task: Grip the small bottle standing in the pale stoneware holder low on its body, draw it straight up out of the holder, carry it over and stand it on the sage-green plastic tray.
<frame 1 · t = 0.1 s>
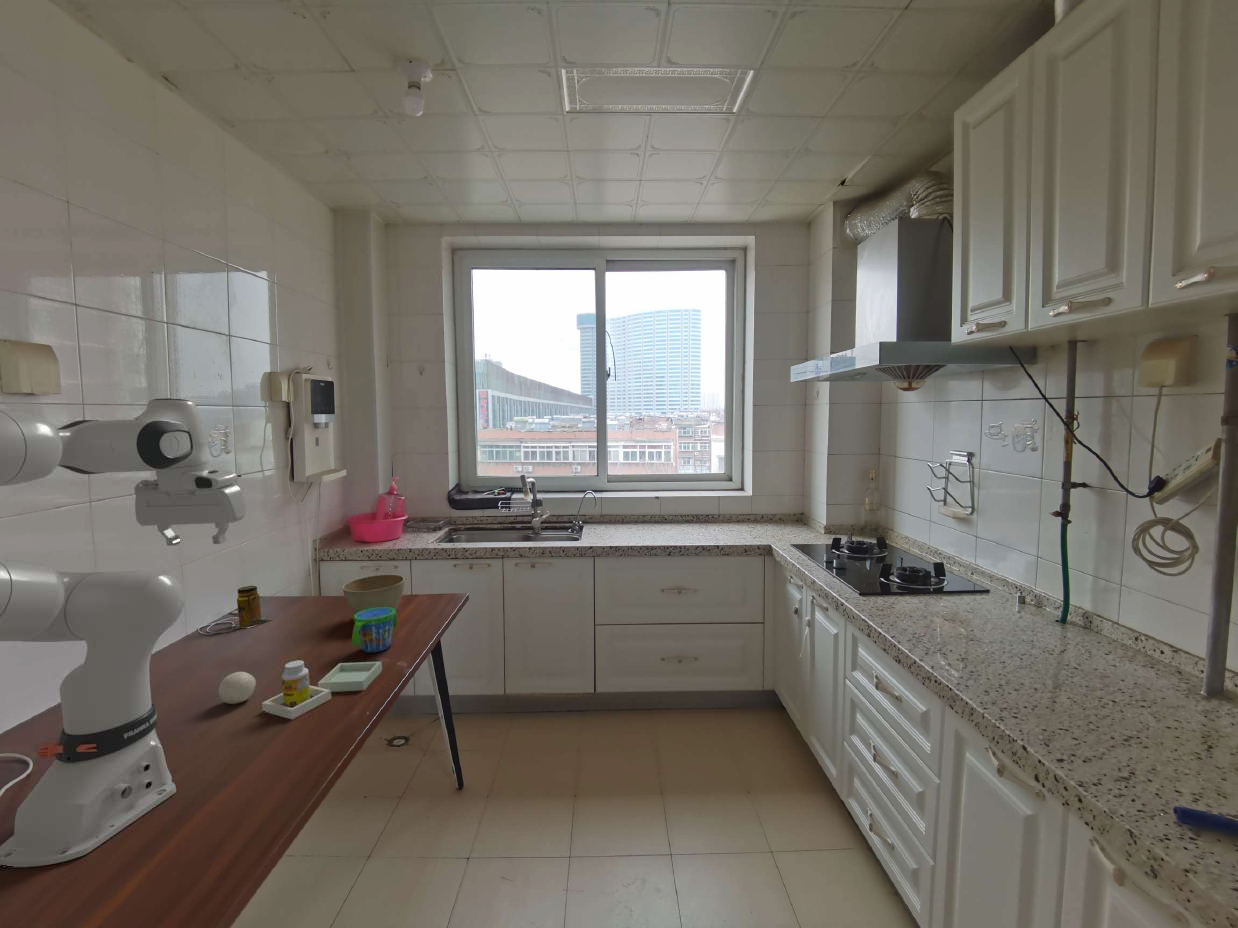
hand: (196, 543, 117), 39 cm above the table, tool pointing down, fingers open, 8 cm apart
flower pot: (376, 619, 181), on the table
tray: (351, 680, 138), on the table
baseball: (239, 701, 129), on the table
snack cup: (377, 648, 157), on the table
holder: (297, 704, 127), on the table
supplement bottle: (297, 705, 127), resting in holder
condiment: (253, 623, 182), on the table
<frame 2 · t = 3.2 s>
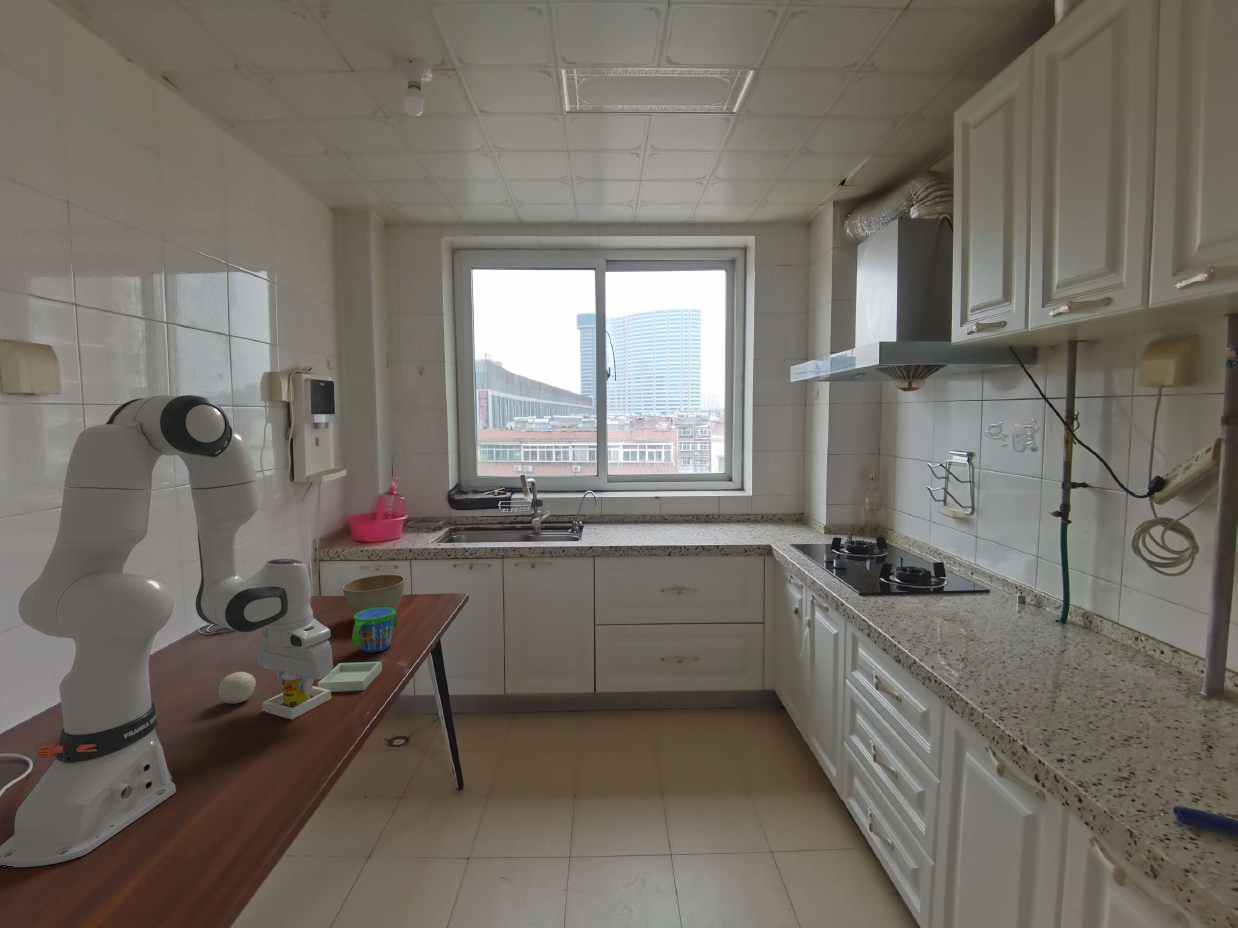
hand: (296, 690, 126), 3 cm above the table, tool pointing down, fingers closed on supplement bottle, 5 cm apart
supplement bottle: (297, 705, 127), resting in holder, touching gripper
everything else where it was.
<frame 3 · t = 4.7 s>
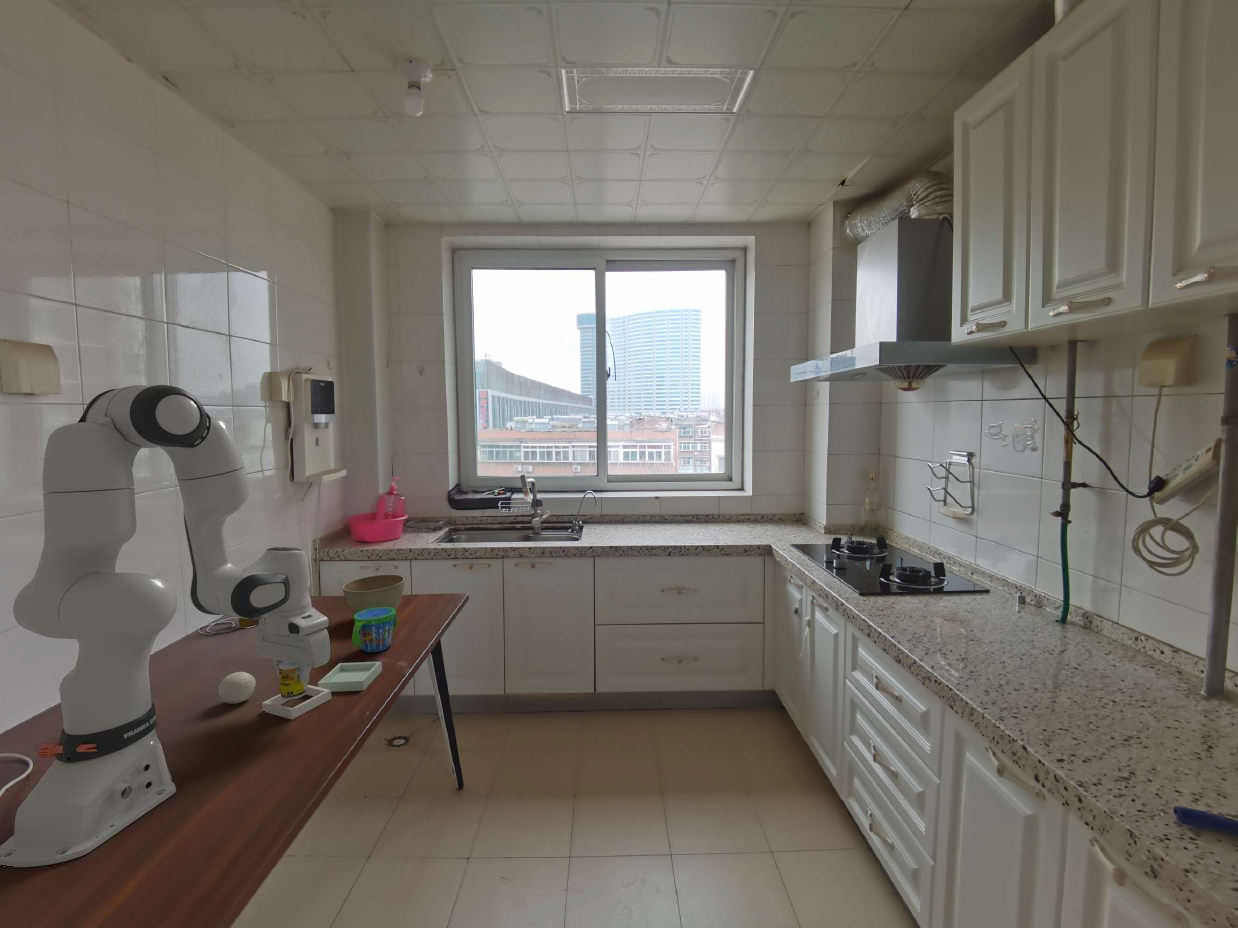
hand: (293, 679, 125), 6 cm above the table, tool pointing down, fingers closed on supplement bottle, 5 cm apart
supplement bottle: (294, 696, 126), point 2 cm above the table, touching gripper
everything else where it was.
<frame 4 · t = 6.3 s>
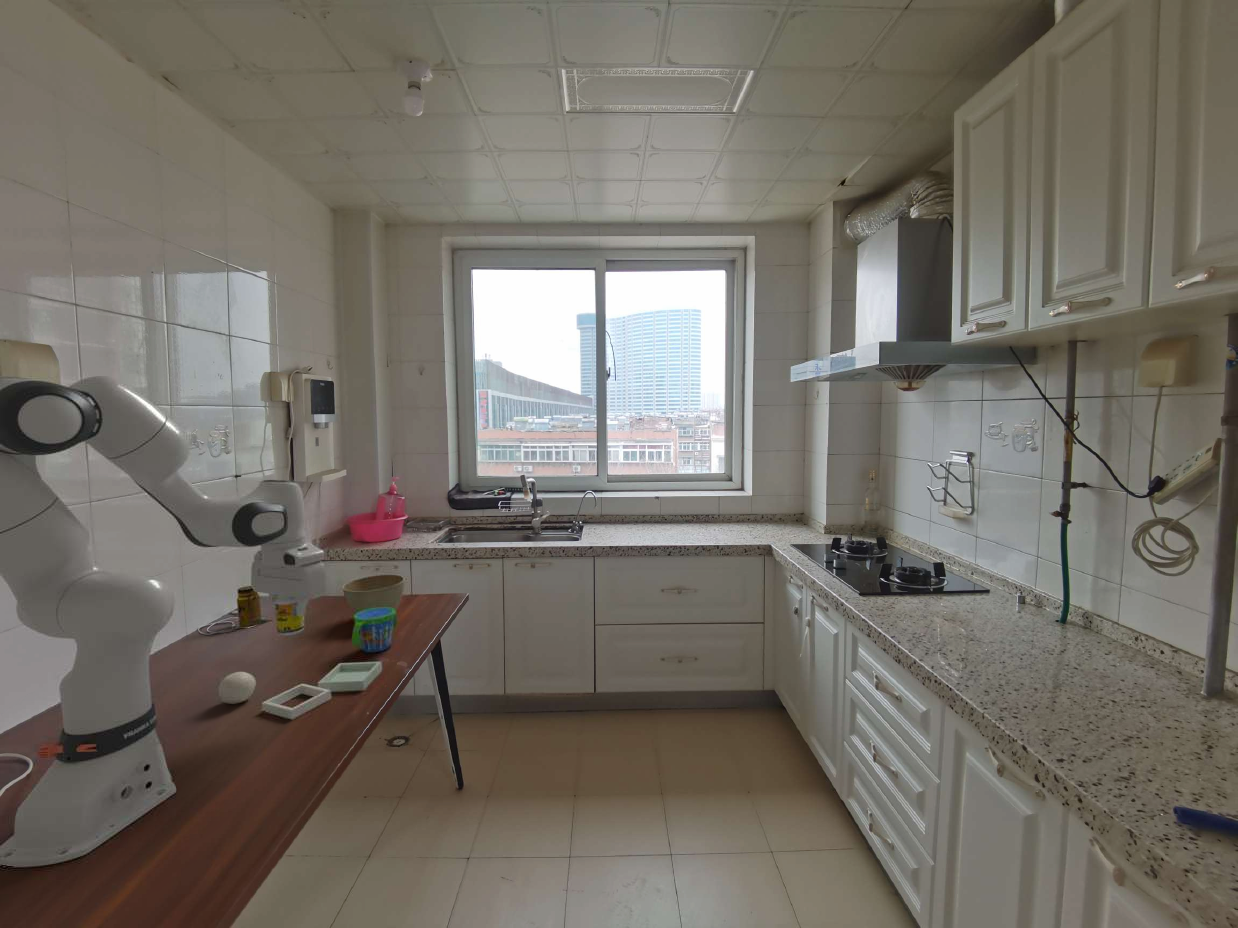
hand: (290, 614, 125), 21 cm above the table, tool pointing down, fingers closed on supplement bottle, 5 cm apart
supplement bottle: (291, 632, 125), point 17 cm above the table, touching gripper
everything else where it was.
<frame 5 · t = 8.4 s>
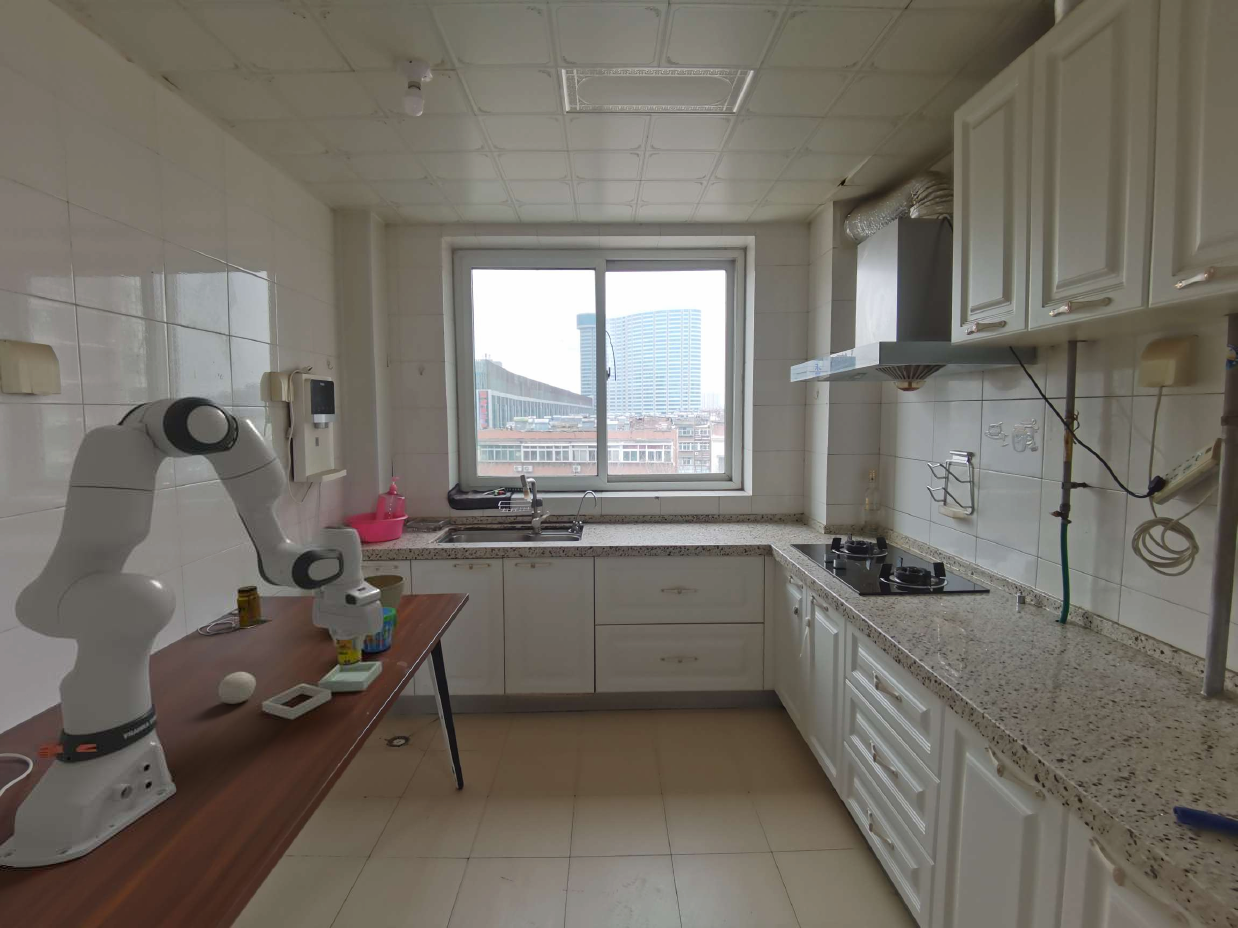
hand: (348, 647, 137), 8 cm above the table, tool pointing down, fingers closed on supplement bottle, 5 cm apart
supplement bottle: (350, 664, 137), point 4 cm above the table, touching gripper
everything else where it was.
when the fingers open (5 cm above the table, at t = 9.5 s): supplement bottle stays where it is, resting on tray.
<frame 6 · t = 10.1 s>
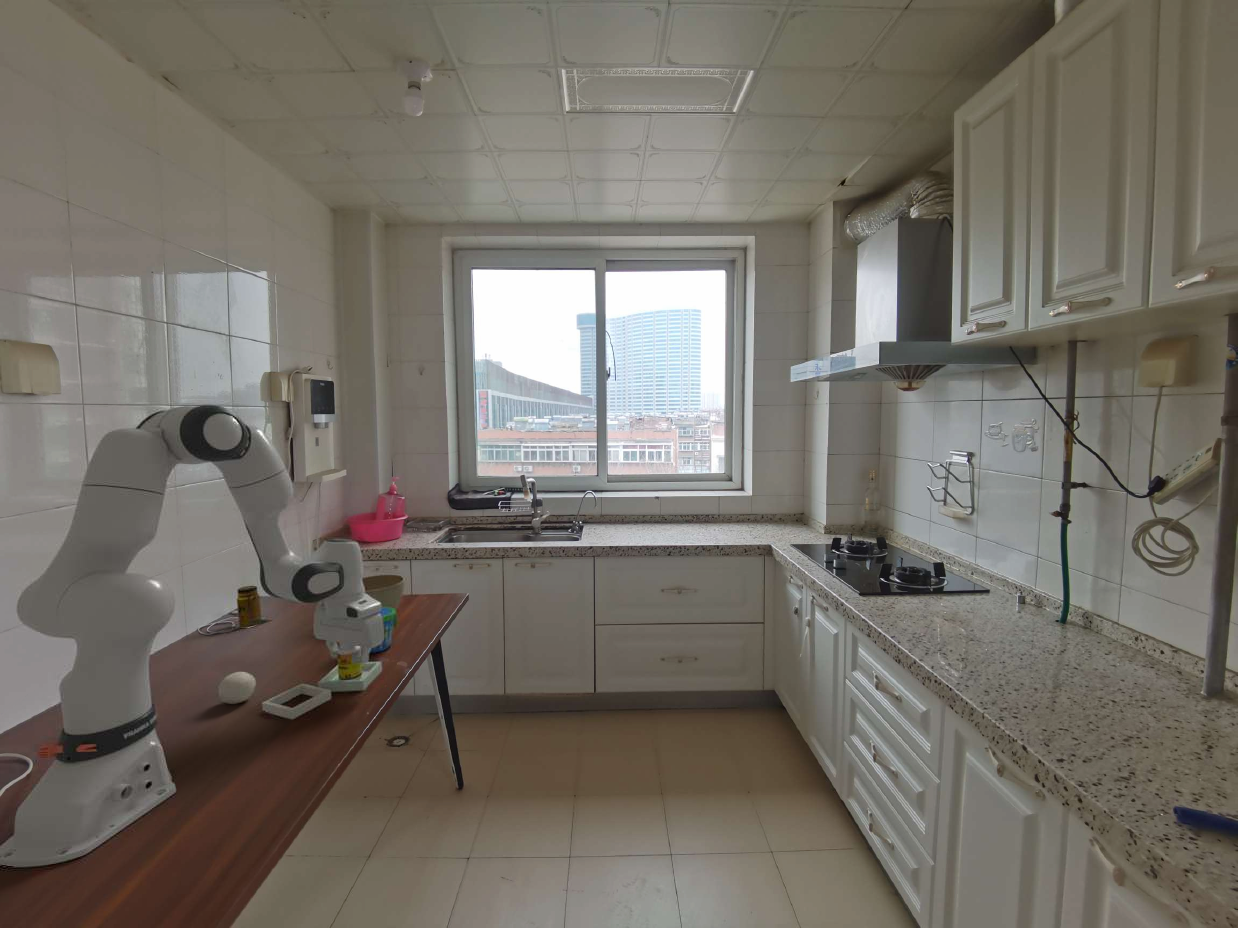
hand: (349, 659, 137), 5 cm above the table, tool pointing down, fingers open, 8 cm apart
supplement bottle: (350, 678, 137), point 1 cm above the table, touching tray
everything else where it was.
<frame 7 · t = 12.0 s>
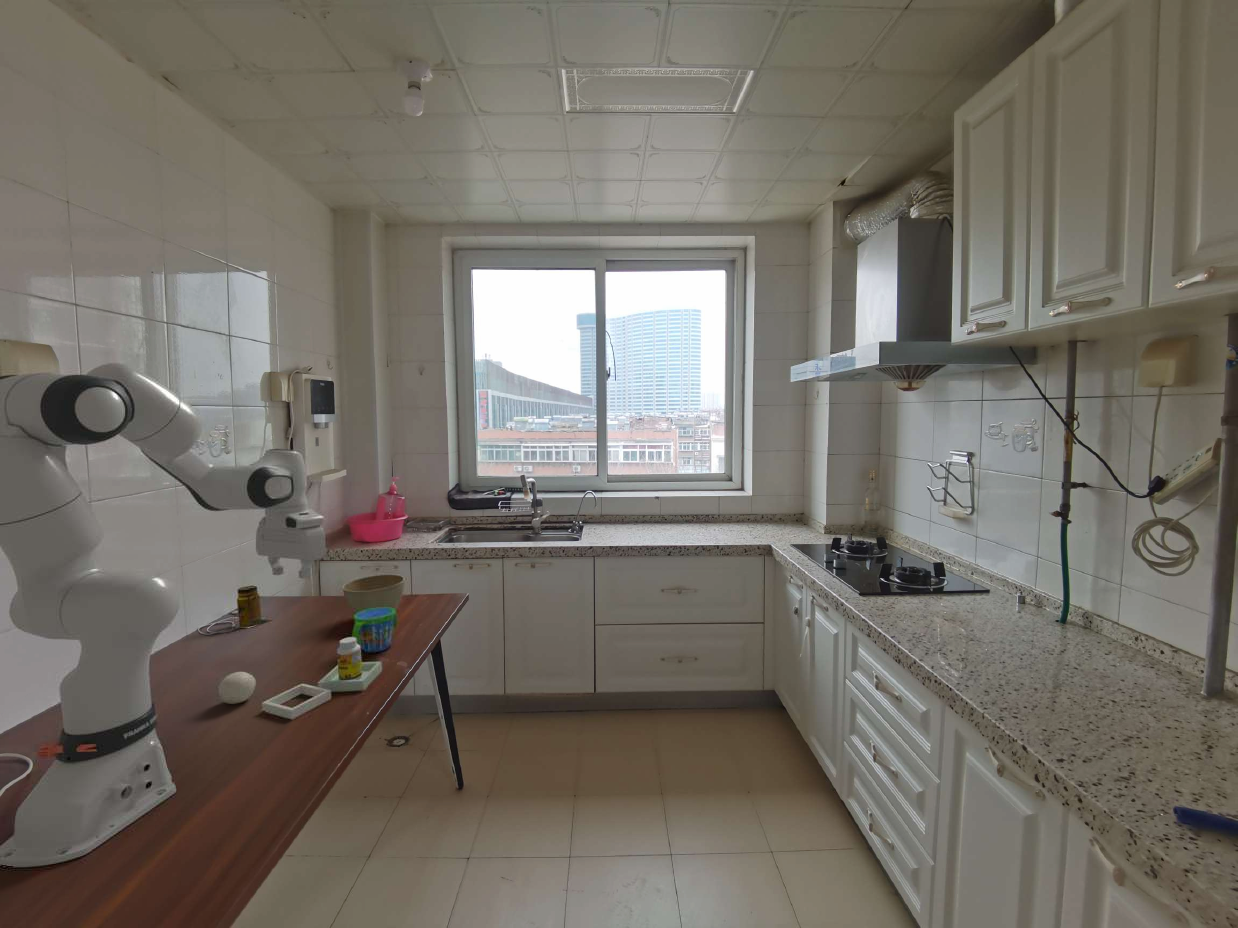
hand: (291, 576, 133), 27 cm above the table, tool pointing down, fingers open, 8 cm apart
nothing on the table moved.
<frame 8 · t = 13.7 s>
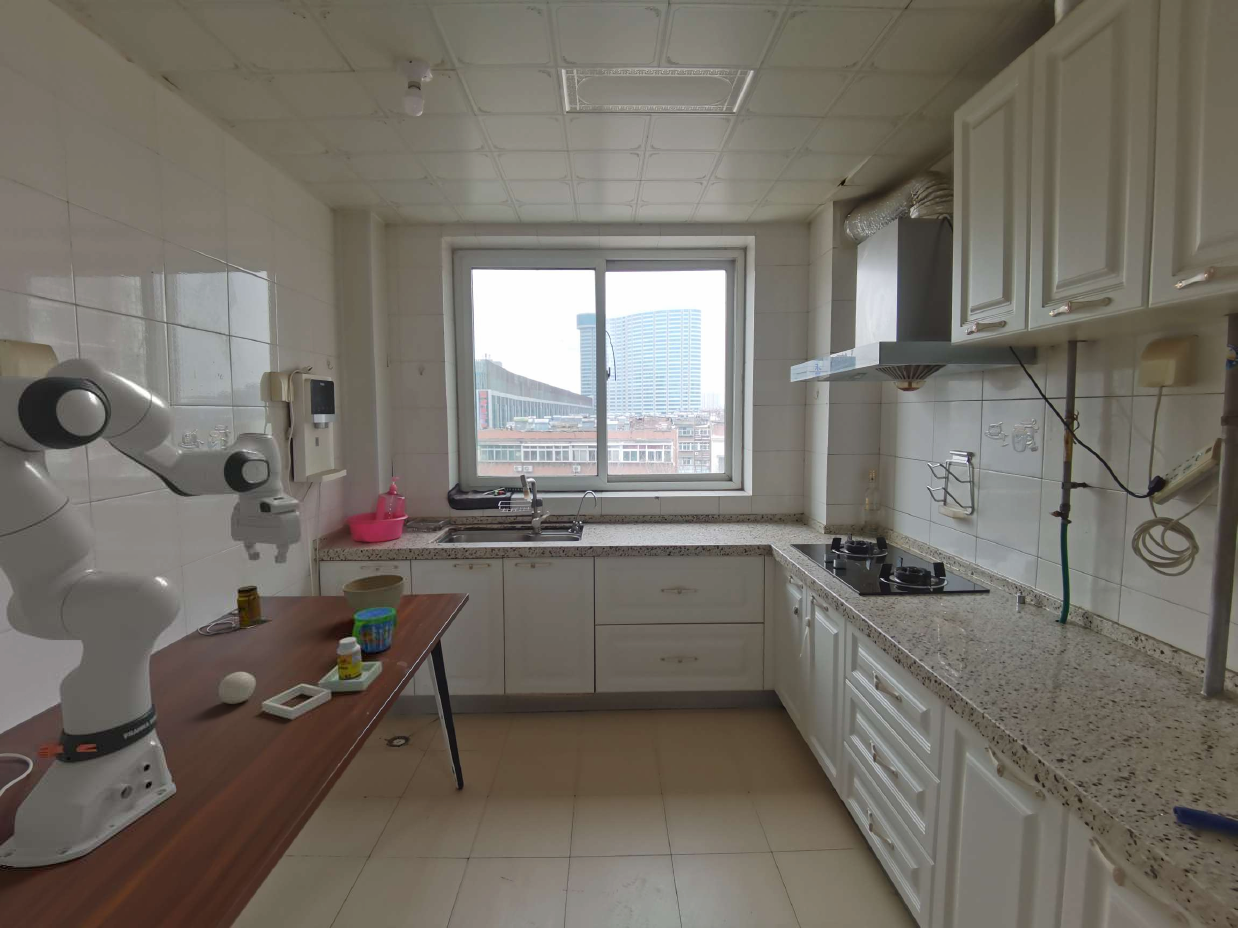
hand: (267, 561, 132), 31 cm above the table, tool pointing down, fingers open, 8 cm apart
nothing on the table moved.
at the end: supplement bottle inside the target area on the tray (0.2 cm from its centre), point 0.6 cm above the tray's base; supplement bottle tilted 0°; the gripper is holding nothing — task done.
